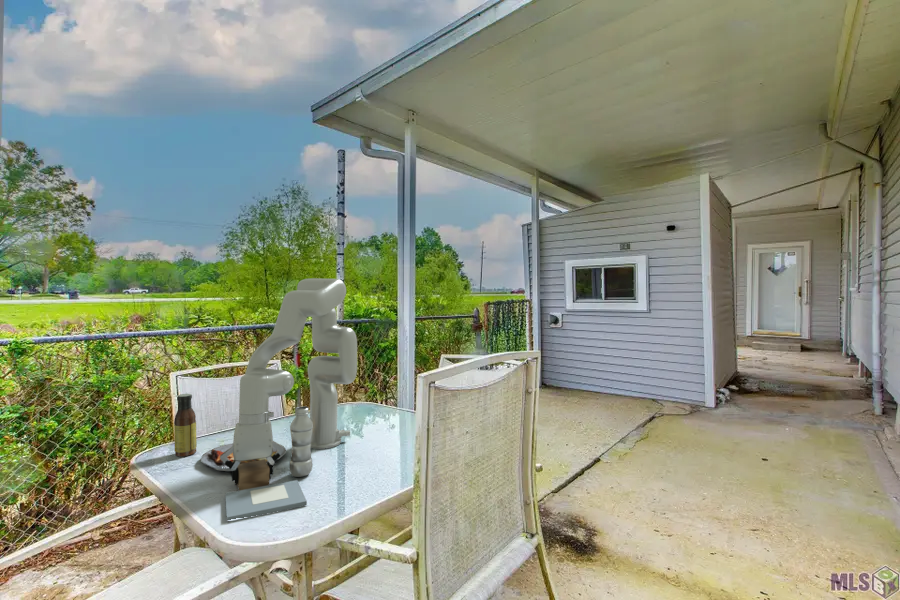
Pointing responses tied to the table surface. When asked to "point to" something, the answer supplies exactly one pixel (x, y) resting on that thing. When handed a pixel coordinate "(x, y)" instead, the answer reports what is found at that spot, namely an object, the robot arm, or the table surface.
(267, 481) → the block
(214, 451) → the food plate
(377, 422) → the table surface
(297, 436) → the plastic bottle
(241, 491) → the board
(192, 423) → the sauce bottle
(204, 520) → the table surface
